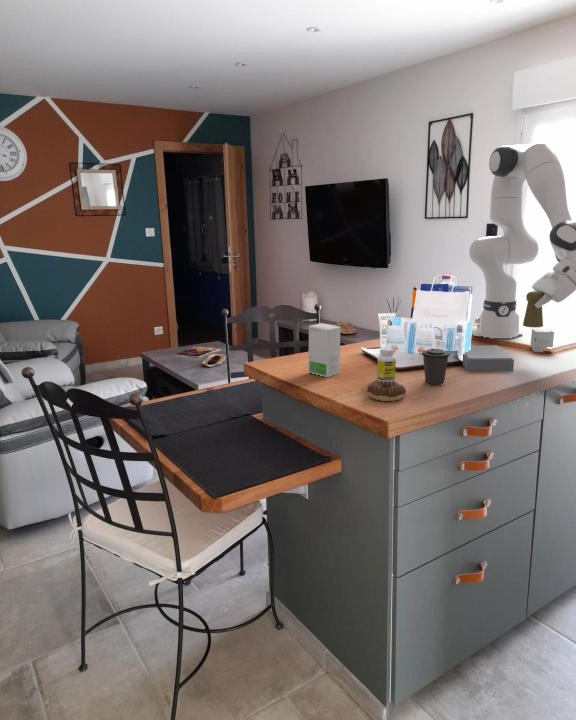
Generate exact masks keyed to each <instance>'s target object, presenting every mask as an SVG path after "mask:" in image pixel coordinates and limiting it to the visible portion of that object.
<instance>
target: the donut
mask: <svg viewBox="0 0 576 720" xmlns="http://www.w3.org/2000/svg"><path fill="white" fill-rule="evenodd" d="M366 391H367V395H368V396H369V397H370V398H371V399H372V398H373V399H372V400H375V399H376V401H378V400H382V401H381V402H384V401H392V402H396V401H395V400H398V401H400V400H402V399H403V398H404V397H405V396H406V392H407V390H406V387H405V386H404V385H402V384H400V383H399V382H396V381H392V382H390V381H378V380H377V381H373V382H372V383H370V384H369V385H368V386H367V389H366Z"/></svg>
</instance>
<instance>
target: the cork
mask: <svg viewBox="0 0 576 720" xmlns="http://www.w3.org/2000/svg"><path fill="white" fill-rule="evenodd" d="M525 296H526V297H525V299H526V302H527V304H526V305H527V306H526V308H525V309H526V310H525V314H524V318H523V323H522V326H523V327H526V328H542V327H544V318H543V317H544V316H543V305H542V306H541V307H540V308H536V307H535V306H534V303H535V302H536V301H537V300H540V299H541V298H543V296H544V294H543V293H542V292H538V291H535V290H534V291H529V292H527V294H526V295H525Z"/></svg>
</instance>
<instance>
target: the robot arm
mask: <svg viewBox="0 0 576 720" xmlns="http://www.w3.org/2000/svg"><path fill="white" fill-rule="evenodd" d="M489 157H490V158H489V163H488V165H489V169H490V172H491V173H492V175H493V176H494V177H493V181H492V186H491V191H490V192H491V194H490V209H489V211H490V212H489V213H490V214H489V218H490V221H491V222H492V223H493V224H494V225H495V226H497V227H499V228H501V229H502V231H503V235H494V236H493V235H487V236H483V237H480V238H476V239H474V240H473V241H472V242H471V244H470V246H469V253H468V254H469V257H470V260H471V261H472V263H474V265H476V266H477V267H478V268H479V269H480V271H482V273H483V274H482V275H483V277H484V280H485V299H484V301H483V305H482V306H483V307H482V308H483V310H482V311H481V313H480V315H479V316H477V317H475V320H474V322H475V324H477V325H476V326H472V336H474V337H481V336H483V337H482V338H486V337H490V338H489V339H494V338H509V339H512V338H511V337H515V336H517V337H519V336H518V335H522V336H523V332H521V331H520V314H518V313H517V312H516V309H517V299H516V295H517V294H516V293H517V281H516V279H515V277H514V276H512V275H510V274H509V273H506V272H505V270H504V266H505V265H522V264H527V263H531V262H533V261H534V260H535V259H536V258H537V256H538V254H539V244H538V241H537V240H536V238H535V237H534V236H532V235H531V234H530V233H529V232H528V230H527V229H526V226H525V225H524V222H523V214H522V213H523V208H522V207H523V185H524V182H525V180H526V183H527V185H528V188H529V189H530V191H531V193H532V195H533V196H534V198H535V199H536V200H537V202H538V204H539V206H540V207H541V208H542V210H543V211H544V213H545V215H546V216H547V218H548V220H549V222H550V226H551V228H552V229H551V230H550V231H549V241H550V245H551V247H552V249H553V252H554V255H555V259H556V261H557V263H556V264H555V265H554V266H553V267H552V270H553V271H549V272H547V273H545V274H544V275H542V276H541V277H539V279H538V280H536V281H535V282H534V283H533V284H532V286H531V288H532V290H534V291H538V292H542V293H543V294H544V296H543V298H541V299H540V300H537V301H536V302H535V303H534V306H535V307H536V308H540V307H541V306H542V307H543V306H544V305H545V304H548V303H549V302H551V301H553V302H556V303H560V302H562V301H565V300H566V299H567V298H568V297H570V295H572V294H574V292H575V291H576V222H575V221H572V220H573V219H572V217H571V215H570V211H569V207H568V203H567V202H568V200H567V193H566V191H567V190H566V181H565V175H564V171H563V167H562V165H561V163H560V160H559V158H558V156H557V154H556V153H555V151H554V150H553V148H552V147H551V146H550V144H548V143H546V142H543V141H542V142H536V143H533V144H531V143H530V144H529V143H527V144H526V143H525V144H524V143H523V144H514V145H501V146H499V147H496V148H495V149H493V151H492V153H491V154H490V156H489ZM515 338H516V337H515Z"/></svg>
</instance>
